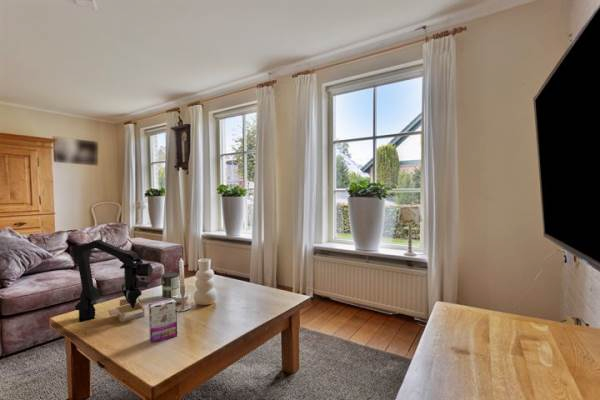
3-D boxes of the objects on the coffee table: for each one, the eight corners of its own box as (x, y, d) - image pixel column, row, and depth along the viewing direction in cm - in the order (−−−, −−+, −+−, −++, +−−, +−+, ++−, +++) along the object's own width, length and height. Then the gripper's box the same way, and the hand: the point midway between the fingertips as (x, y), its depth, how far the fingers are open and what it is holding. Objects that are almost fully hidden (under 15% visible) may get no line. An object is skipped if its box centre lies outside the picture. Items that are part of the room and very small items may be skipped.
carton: (112, 327, 142) (112, 319, 142) (107, 317, 154) (107, 309, 154) (146, 318, 152) (146, 310, 152) (139, 310, 164) (139, 302, 164)
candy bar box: (174, 332, 138) (174, 298, 138) (177, 336, 134) (177, 301, 134) (148, 339, 132) (148, 303, 131) (150, 343, 128) (150, 307, 127)
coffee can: (161, 300, 178) (161, 277, 178) (162, 295, 188) (161, 273, 187) (180, 297, 183) (179, 275, 182) (179, 292, 192) (179, 271, 192)
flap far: (143, 306, 156) (141, 300, 156) (139, 302, 162) (137, 296, 162) (143, 306, 157) (141, 300, 156) (140, 302, 163) (138, 296, 162)
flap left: (119, 306, 157) (119, 300, 156) (119, 305, 157) (119, 300, 157) (136, 302, 162) (136, 296, 162) (136, 302, 163) (136, 296, 162)
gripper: (152, 277, 152) (152, 306, 152) (143, 269, 166) (143, 296, 166) (127, 281, 145) (128, 312, 145) (120, 273, 159) (120, 301, 159)
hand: (131, 305), depth 154 cm, fingers open, 9 cm apart
